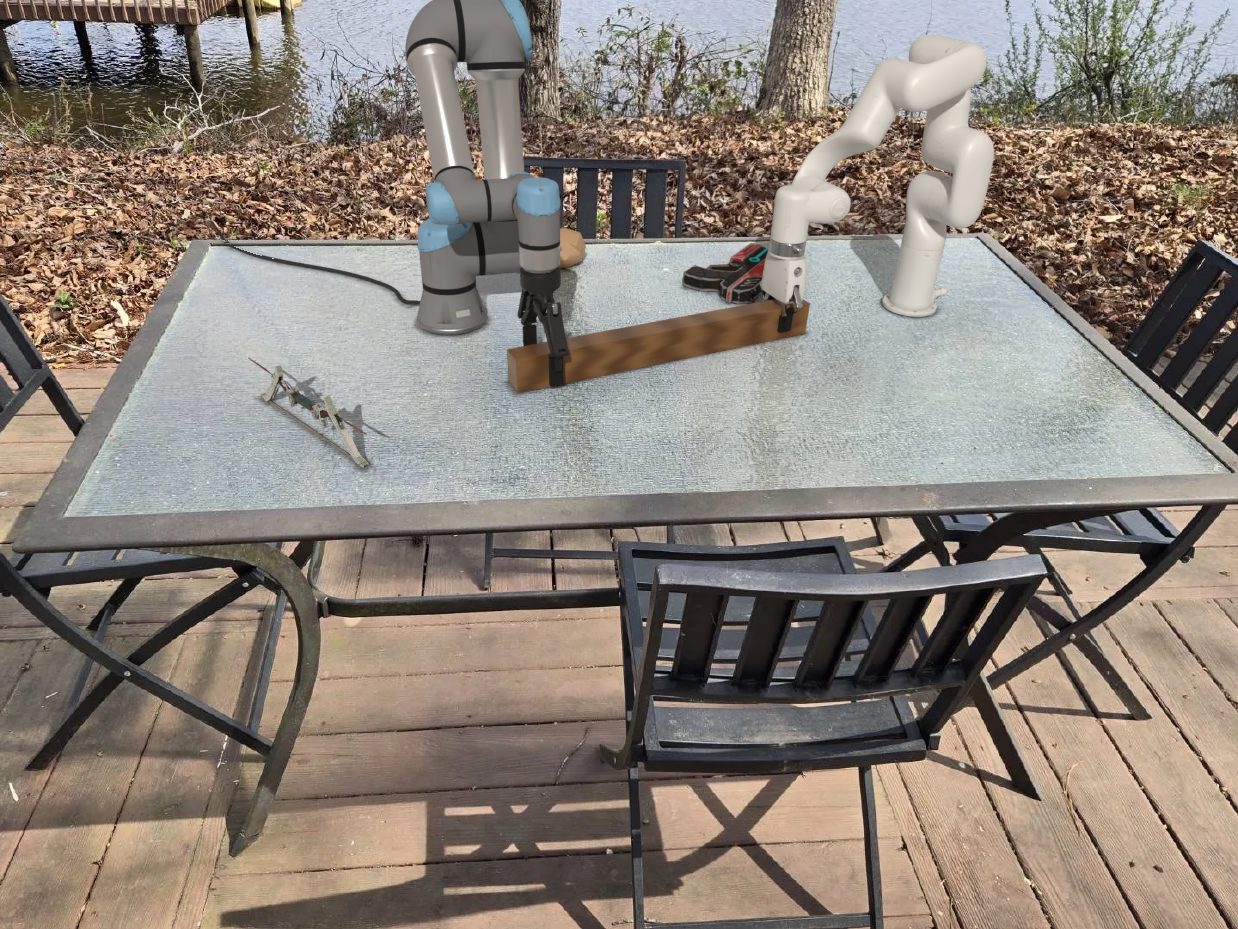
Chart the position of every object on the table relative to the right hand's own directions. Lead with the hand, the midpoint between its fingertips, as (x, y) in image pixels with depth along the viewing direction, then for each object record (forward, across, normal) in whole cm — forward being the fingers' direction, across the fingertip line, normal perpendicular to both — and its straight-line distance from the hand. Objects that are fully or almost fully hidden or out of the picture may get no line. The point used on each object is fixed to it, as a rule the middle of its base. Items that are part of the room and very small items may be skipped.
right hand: (776, 325), depth 195 cm
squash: (+2, +59, +31) cm, 66 cm away
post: (+2, 0, +28) cm, 28 cm away
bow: (+2, -1, +101) cm, 101 cm away
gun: (+2, +30, -10) cm, 32 cm away
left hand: (-1, 0, +56) cm, 56 cm away
